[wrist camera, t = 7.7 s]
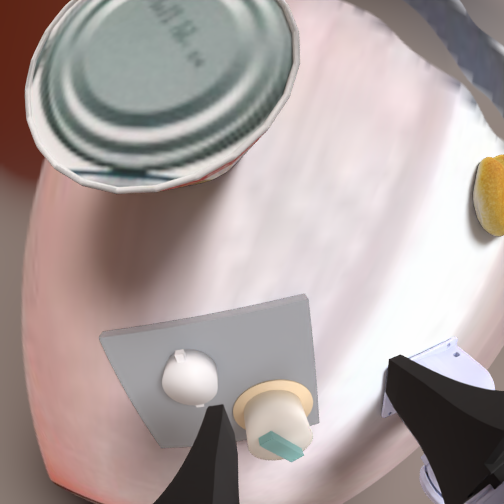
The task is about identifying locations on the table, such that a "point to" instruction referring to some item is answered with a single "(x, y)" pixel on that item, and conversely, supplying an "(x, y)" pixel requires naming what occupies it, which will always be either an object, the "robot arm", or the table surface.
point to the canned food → (158, 88)
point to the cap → (276, 426)
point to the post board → (230, 347)
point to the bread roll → (490, 195)
